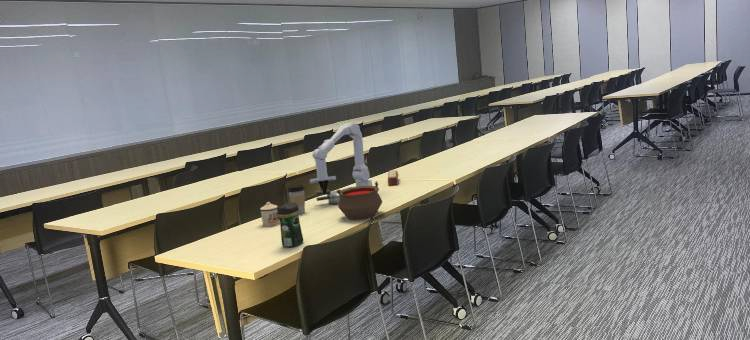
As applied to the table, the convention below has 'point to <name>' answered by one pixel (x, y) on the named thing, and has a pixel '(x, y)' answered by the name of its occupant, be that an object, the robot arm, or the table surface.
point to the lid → (328, 193)
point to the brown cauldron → (359, 201)
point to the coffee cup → (297, 197)
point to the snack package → (392, 178)
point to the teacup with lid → (269, 215)
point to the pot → (329, 199)
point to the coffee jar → (290, 225)
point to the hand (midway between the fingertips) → (324, 193)
